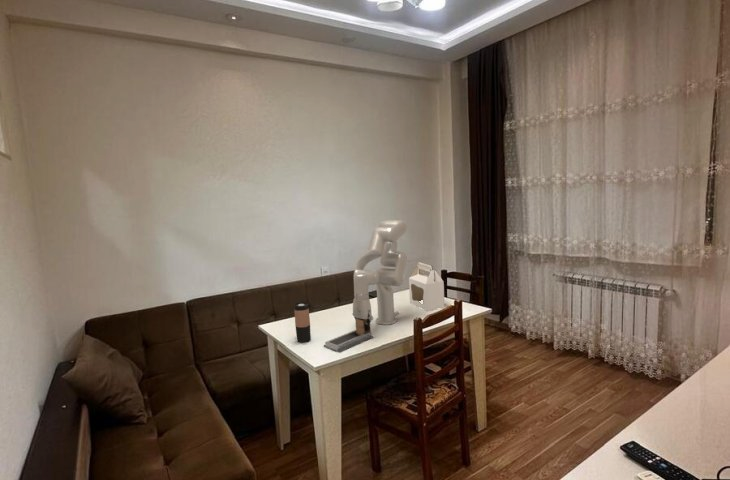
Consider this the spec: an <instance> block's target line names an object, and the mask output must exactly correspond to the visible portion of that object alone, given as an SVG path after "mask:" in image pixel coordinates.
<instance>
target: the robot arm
mask: <svg viewBox="0 0 730 480" xmlns="http://www.w3.org/2000/svg"><path fill="white" fill-rule="evenodd" d="M407 227H408V226H407V222H406V221H405V220H401V219H400V220H399V219H395V220H394V219H392V220H391V219H389V220H388V219H386V220H381V221H380V222H378V226H377V227H375V228H373V230H372V234H371V236H370V241H369V244H368V247H367V250H366V251H365V252H364V254H363V255H361V256H360V258H359V259H358V261H357V262H356V263H355V268H354V270H353V292H354V293H353V296H354V298H353V301H352V313H351V314H352V316H353V318H354V319H357V318H360V319H364V321H365V332H366V331H369V330H370V327H371V322H372V321H373V320H374V316H373V314H372V305H371V301H370V293H369V286H372V285H373V286H374V285H375V286H376V301H377V318H375V323H376V324H377V325H382V326H384V325H386V326H390V325H393V324H396V323H397V322H398V318H397V316H398V315H400V312H399V311H395V301H394V290H393V288H392V287H400V286H402V285H403V284H404V281H405V277H406V276H405V275H406V271H407V266H408V256H407V254H406V253H405V252H404V251H401V250H397V249H398V240H399V239H400V238H401V237H403V236H404V235H405V233H407ZM376 259H380V260H379V261H380V264H381V266H383V267H381V268H378V269H376V270H372V269H371V270H370V269H365V268H366V266H367V265H368V264H369V263H371V262H372V261H374V260H376ZM385 267H387V268H385ZM369 318H370V319H369ZM367 320H368V321H367ZM369 323H370V325H369Z"/></svg>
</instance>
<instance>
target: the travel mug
mask: <svg viewBox="0 0 730 480" xmlns="http://www.w3.org/2000/svg"><path fill="white" fill-rule="evenodd" d="M293 309H294V310H293V311H294V323H295V325H294V326H295V332H296V333H295V334H296V342H297V343H299V344H306V343H309V342H311V340H312V339H311V337H312V335H311V318H310V306H309V302H307V301H301V302H300V301H299V302H296V303H294V304H293Z"/></svg>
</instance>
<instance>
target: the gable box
mask: <svg viewBox="0 0 730 480" xmlns="http://www.w3.org/2000/svg"><path fill="white" fill-rule="evenodd" d="M424 271H426V272H428V275H426V274H425V272H424ZM444 282H445V281H444V280H443V279H442V277H441V276H440V275H439V273H438V272H437V271H436V270H434V269H433V265H431V264H428V263H425V262H421V261H418V263H416V267H414V270H413V271H412V273H411V274H410V276H409V277H408V287H409V288H408V289H409V304H411V305H413V306H415V307H417V306H418V307H417V308H419V307H420V308H419V309H421V308H422V309H421V310H423V309H424V310H423V311H425V310H426V311H425V312H429V311H428V310H431V311H434V310H433V309H436V310H438V309H437V308H441V309H445V284H444ZM421 300H423V304H421V303H420V302H419V301H421ZM441 309H440V310H441Z"/></svg>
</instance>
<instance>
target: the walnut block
mask: <svg viewBox="0 0 730 480" xmlns="http://www.w3.org/2000/svg"><path fill="white" fill-rule="evenodd" d="M354 319H355V318H354ZM369 319H370V318H369ZM367 321H368V320H367ZM369 325H370V330H369V331H370V332H371V333H372V330H371V329H372V327H371V322H370V323H369ZM355 330H356V334H359V335H362V334H365V333H367V332H369V331H366V332H365V321H364V319H360V318H357V319H355Z"/></svg>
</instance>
